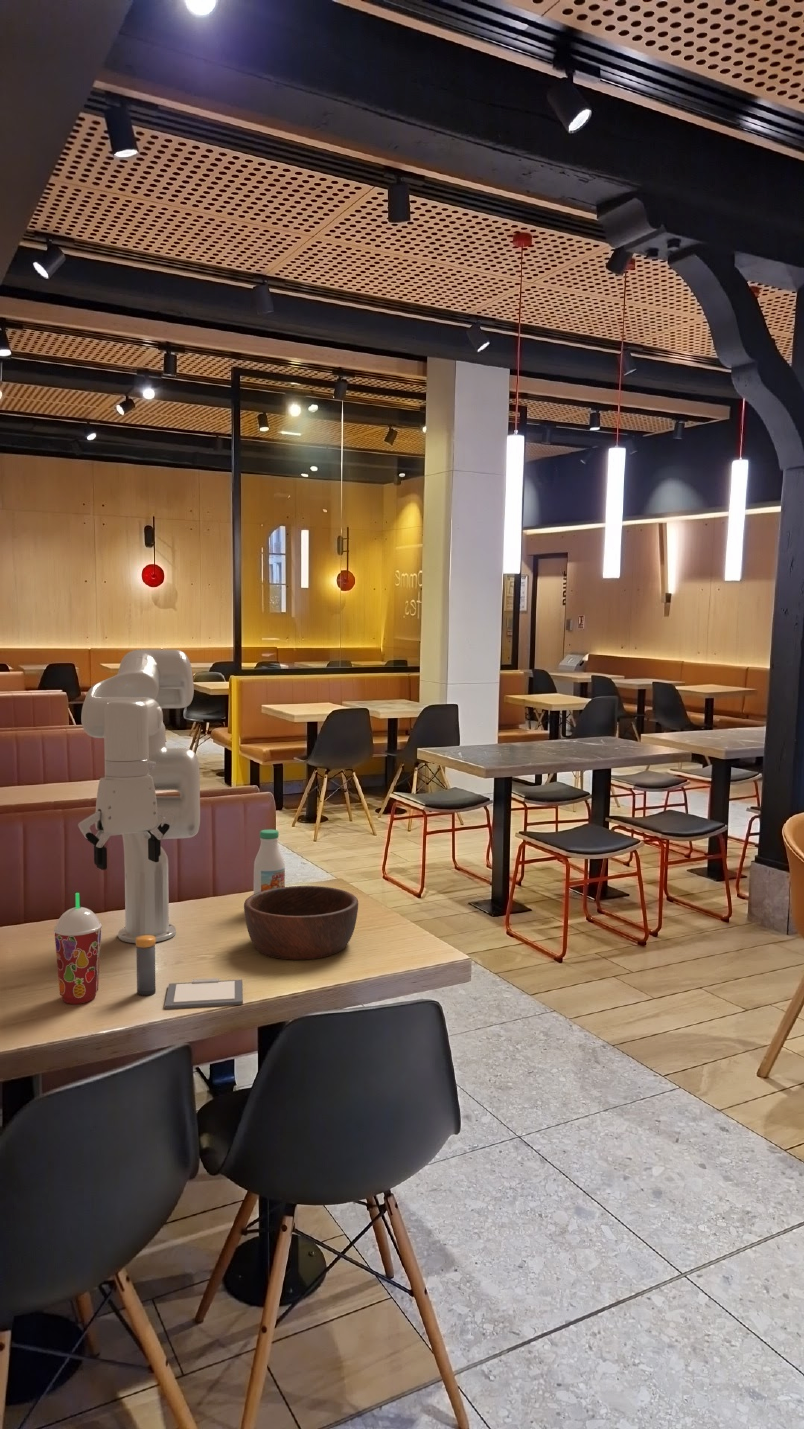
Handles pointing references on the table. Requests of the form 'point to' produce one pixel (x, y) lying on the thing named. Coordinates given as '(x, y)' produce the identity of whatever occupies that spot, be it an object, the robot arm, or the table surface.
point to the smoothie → (78, 954)
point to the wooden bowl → (301, 921)
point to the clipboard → (204, 993)
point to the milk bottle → (269, 863)
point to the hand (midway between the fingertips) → (128, 864)
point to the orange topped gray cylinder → (145, 965)
